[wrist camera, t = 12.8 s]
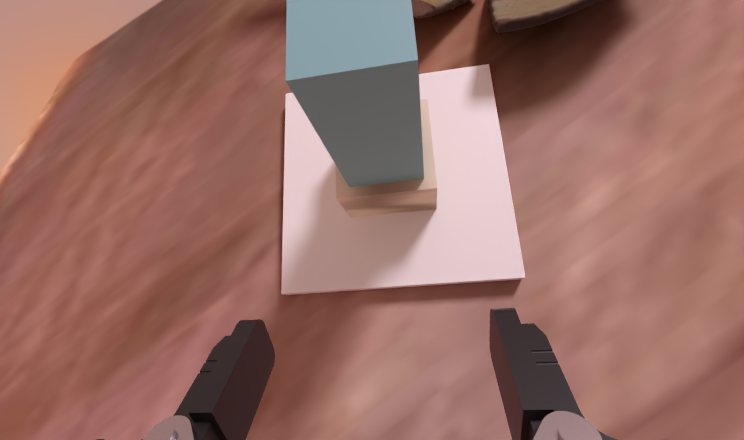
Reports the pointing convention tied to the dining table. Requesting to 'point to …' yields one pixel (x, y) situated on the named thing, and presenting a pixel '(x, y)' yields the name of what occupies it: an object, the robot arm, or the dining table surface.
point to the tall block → (359, 84)
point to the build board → (407, 229)
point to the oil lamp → (509, 11)
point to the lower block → (394, 186)
